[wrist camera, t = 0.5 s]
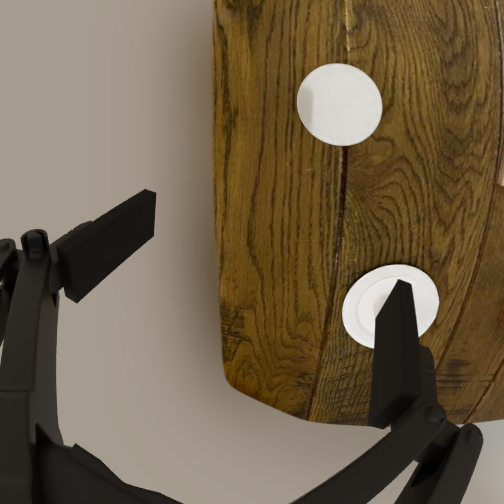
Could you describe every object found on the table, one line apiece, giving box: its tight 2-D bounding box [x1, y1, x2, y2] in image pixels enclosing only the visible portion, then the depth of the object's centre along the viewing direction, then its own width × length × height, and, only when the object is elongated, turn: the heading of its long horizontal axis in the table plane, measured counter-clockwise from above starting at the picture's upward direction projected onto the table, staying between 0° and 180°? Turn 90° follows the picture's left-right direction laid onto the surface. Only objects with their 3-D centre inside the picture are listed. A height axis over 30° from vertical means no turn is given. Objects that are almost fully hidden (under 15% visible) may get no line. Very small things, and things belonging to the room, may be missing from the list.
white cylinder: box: [297, 63, 382, 146], centre depth 23 cm, size 6×6×11 cm
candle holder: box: [342, 265, 439, 348], centre depth 33 cm, size 12×12×4 cm
